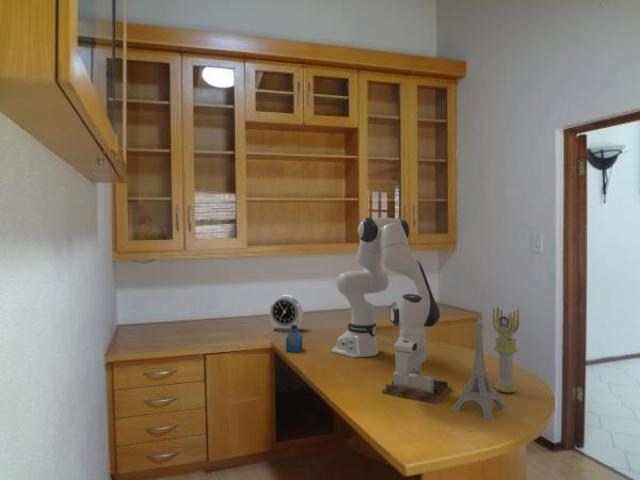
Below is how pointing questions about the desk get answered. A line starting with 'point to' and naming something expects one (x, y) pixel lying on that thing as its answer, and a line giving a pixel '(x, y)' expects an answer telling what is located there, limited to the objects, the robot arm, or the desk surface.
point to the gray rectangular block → (414, 382)
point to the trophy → (505, 348)
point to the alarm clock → (285, 313)
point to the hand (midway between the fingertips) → (412, 379)
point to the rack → (420, 392)
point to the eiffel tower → (480, 382)
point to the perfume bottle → (294, 340)
